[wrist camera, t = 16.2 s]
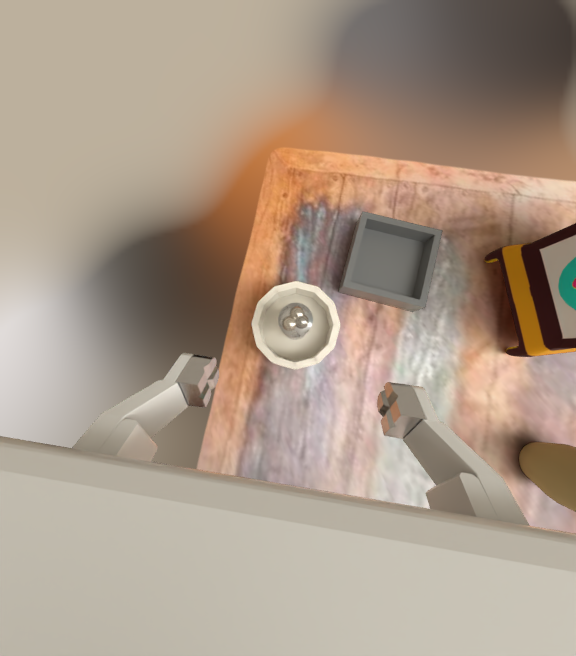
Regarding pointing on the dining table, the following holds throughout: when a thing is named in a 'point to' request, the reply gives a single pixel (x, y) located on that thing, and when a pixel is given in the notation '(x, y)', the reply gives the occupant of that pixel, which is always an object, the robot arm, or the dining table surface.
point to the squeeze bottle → (552, 470)
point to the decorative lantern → (541, 292)
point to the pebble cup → (295, 320)
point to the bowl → (313, 342)
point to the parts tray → (391, 262)
